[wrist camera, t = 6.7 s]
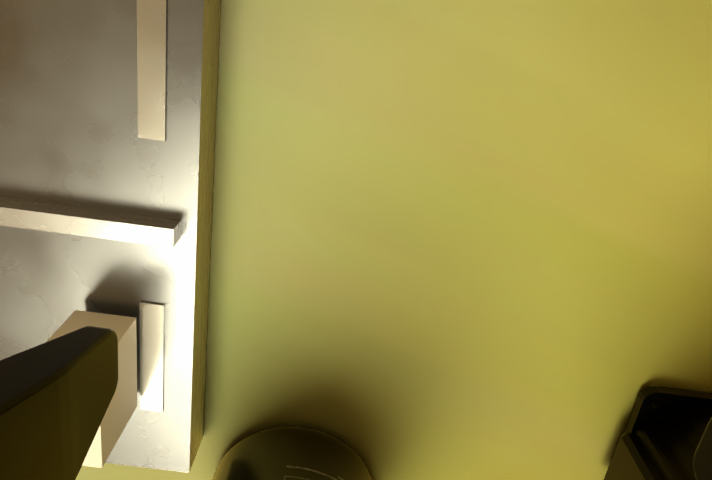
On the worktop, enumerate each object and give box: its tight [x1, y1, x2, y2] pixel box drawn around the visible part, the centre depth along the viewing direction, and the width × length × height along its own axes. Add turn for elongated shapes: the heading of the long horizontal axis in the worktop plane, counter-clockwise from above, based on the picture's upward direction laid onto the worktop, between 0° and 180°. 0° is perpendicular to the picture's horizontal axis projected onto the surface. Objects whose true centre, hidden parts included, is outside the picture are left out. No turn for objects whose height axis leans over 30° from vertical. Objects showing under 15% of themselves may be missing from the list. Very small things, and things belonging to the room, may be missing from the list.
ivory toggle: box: [46, 310, 137, 468], centre depth 19 cm, size 2×4×3 cm, turn 172°
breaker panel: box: [0, 0, 221, 473], centre depth 19 cm, size 12×20×3 cm, turn 172°
